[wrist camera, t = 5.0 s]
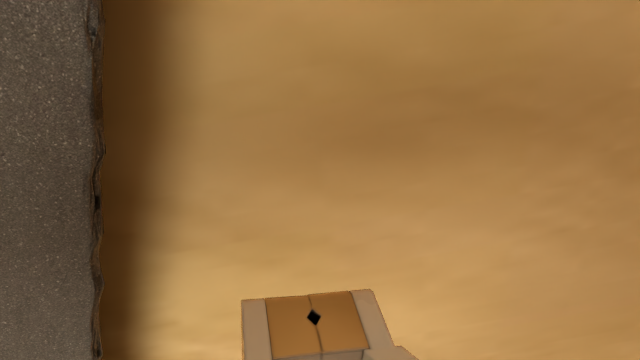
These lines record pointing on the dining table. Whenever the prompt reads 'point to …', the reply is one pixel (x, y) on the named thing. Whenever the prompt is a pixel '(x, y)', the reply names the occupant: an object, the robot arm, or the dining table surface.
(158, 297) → the dining table surface
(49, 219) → the serving tray
